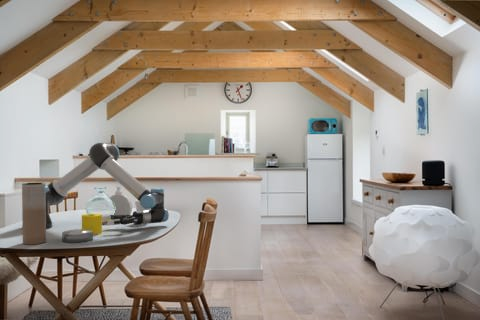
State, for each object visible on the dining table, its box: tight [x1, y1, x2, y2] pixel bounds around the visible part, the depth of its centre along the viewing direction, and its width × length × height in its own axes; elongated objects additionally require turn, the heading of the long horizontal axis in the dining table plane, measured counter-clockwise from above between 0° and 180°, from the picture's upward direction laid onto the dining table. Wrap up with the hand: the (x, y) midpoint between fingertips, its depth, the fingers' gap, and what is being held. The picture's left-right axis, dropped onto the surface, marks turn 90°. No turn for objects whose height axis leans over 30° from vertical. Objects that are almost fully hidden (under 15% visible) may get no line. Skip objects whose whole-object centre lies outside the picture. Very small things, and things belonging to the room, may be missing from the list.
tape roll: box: [81, 213, 103, 236], centre depth 236 cm, size 10×10×9 cm
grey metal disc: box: [61, 228, 94, 244], centre depth 218 cm, size 14×14×4 cm
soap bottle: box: [109, 185, 133, 215], centre depth 288 cm, size 16×5×20 cm, turn 89°
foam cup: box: [134, 199, 151, 211], centre depth 271 cm, size 10×9×13 cm
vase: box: [21, 182, 47, 246], centre depth 212 cm, size 10×10×28 cm
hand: (103, 221), depth 238 cm, fingers open, 13 cm apart
